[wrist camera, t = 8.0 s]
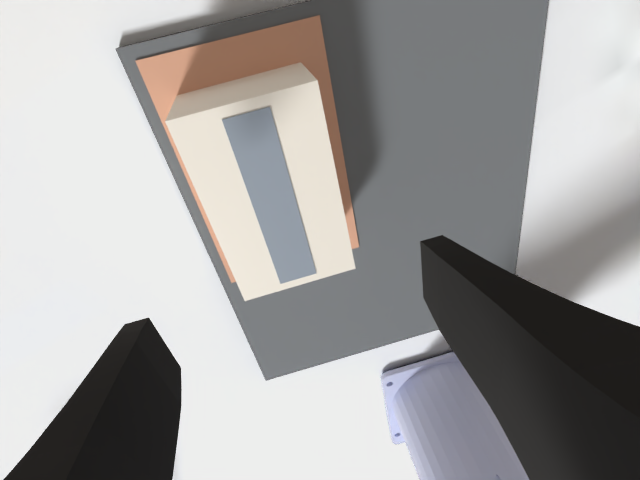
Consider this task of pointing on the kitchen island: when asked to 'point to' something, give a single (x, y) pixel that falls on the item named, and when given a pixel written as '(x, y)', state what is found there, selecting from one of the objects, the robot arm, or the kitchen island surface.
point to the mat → (374, 149)
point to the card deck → (265, 177)
